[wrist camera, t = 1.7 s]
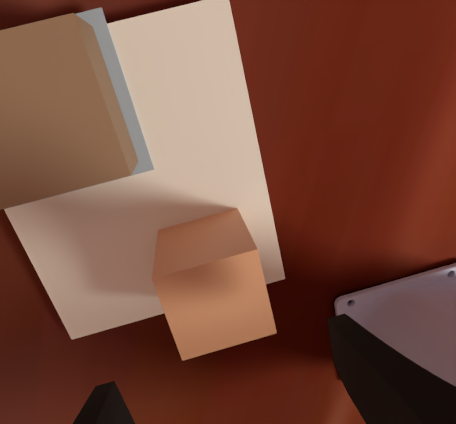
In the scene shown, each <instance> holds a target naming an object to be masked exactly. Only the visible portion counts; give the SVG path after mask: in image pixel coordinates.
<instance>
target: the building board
mask: <svg viewBox="0 0 456 424" xmlns="http://www.w3.org/2000/svg"><path fill="white" fill-rule="evenodd" d="M236 208H238V210H239V212H240V214H241V216H242V218H243V220H244V222H245V224H246V226H247V228H248V230H249V232H250V234H251V237H252V239H253V241H254V243H255V245H256V247H257V249H258V253H259V257H260V261H261V266H262V270H263V274H264V279H265V283H266V284H269V283H273V282H276V281H280V280H283V279H285V274H284V269H283V264H282V260H281V255H280V250H279V245H278V240H277V235H276V230H275V225H274V220H273V215H272V210H271V205H270V200H269V195H268V190H267V185H266V180H265V175H264V170H263V165H262V160H261V155H260V150H259V146H258V141H257V136H256V131H255V126H254V121H253V116H252V111H251V106H250V101H249V96H248V91H247V86H246V81H245V76H244V71H243V66H242V61H241V56H240V51H239V46H238V41H237V36H236V32H235V27H234V22H233V17H232V12H231V7H230V2H229V0H202V1H198V2H194V3H190V4H186V5H182V6H178V7H173V8H169V9H165V10H161V11H157V12H153V13H149V14H145V15H140V16H136V17H132V18H128V19H124V20H120V21H116V22H112V23H108V24H107V22H106V19H105V16H104V13H103V10H102V8H97V9H93V10H89V11H85V12H81V13H76V14H74V13H70V14H66V15H62V16H58V17H54V18H50V19H45V20H41V21H37V22H33V23H29V24H25V25H21V26H16V27H12V28H8V29H4V30H0V210H2V209H4V211H5V213H6V214H7V216H8V218H9V220H10V222H11V224H12V226H13V228H14V230H15V232H16V234H17V236H18V237H19V239H20V241H21V243H22V245H23V247H24V249H25V251H26V253H27V255H28V257H29V259H30V261H31V262H32V264H33V266H34V268H35V270H36V272H37V274H38V276H39V278H40V280H41V282H42V284H43V286H44V287H45V289H46V291H47V293H48V295H49V297H50V299H51V301H52V303H53V305H54V307H55V309H56V311H57V312H58V314H59V316H60V318H61V320H62V322H63V324H64V326H65V328H66V330H67V332H68V334H69V335H70V337H71V339H72V340H73V339H76V338H80V337H83V336H87V335H90V334H94V333H97V332H101V331H104V330H108V329H111V328H115V327H118V326H122V325H125V324H129V323H132V322H136V321H139V320H143V319H146V318H150V317H153V316H157V315H160V314H164V311H163V308H162V305H161V303H160V300H159V297H158V295H157V292H156V289H155V287H154V284H153V281H152V272H153V265H154V257H155V250H156V243H157V235H158V230H159V229H163V228H166V227H170V226H174V225H177V224H181V223H185V222H188V221H192V220H196V219H199V218H203V217H207V216H210V215H214V214H218V213H221V212H225V211H229V210H232V209H236Z"/></svg>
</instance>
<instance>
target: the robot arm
mask: <svg viewBox="0 0 456 424" xmlns="http://www.w3.org/2000/svg"><path fill="white" fill-rule="evenodd" d="M448 273H449V274H448ZM350 300H352V301H351V302H350V303H348V301H350ZM334 306H335V313H336V316H334V317H331V318H327V321H328V328H329V334H330V341H331V347H332V354H333V360H334V365H335V367H336V369H337V371H338V374H339V376H340V378H341V380H342V382H343V384H344V386H345V388H346V390H347V392H348V394H349V396H350V398H351V399H352V401H353V403H354V404H355V406H356V407H357V409H358V411H359V412H360V414H361V416H362V417H363V419H364V421H365V422H366V424H456V263H454V264H450V265H447V266H443V267H440V268H436V269H433V270H429V271H426V272H423V273H419V274H416V275H412V276H409V277H405V278H402V279H398V280H395V281H391V282H388V283H385V284H381V285H378V286H374V287H371V288H367V289H364V290H360V291H357V292H353V293H350V294H347V295H343V296H340V297H338V298H337V299H336V300H335V302H334ZM73 424H135V423H134V420H133V418H132V416H131V414H130V412H129V410H128V408H127V406H126V404H125V402H124V400H123V398H122V396H121V394H120V392H119V390H118V388H117V386H116V384H115V382H114V381H113V382H109V383H106V384H102V385H99V386H96V387H95V388H94V390H93V392H92V393H91V395H90V396H89V398H88V400H87V401H86V403H85V404H84V406H83V408H82V409H81V411H80V413H79V414H78V416H77V418H76V419H75V421H74V423H73Z"/></svg>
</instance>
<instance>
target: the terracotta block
mask: <svg viewBox="0 0 456 424" xmlns="http://www.w3.org/2000/svg"><path fill="white" fill-rule="evenodd" d="M152 281H153V284H154V287H155V289H156V292H157V295H158V297H159V300H160V303H161V305H162V308H163V311H164V313H165V316H166V319H167V321H168V324H169V327H170V329H171V332H172V334H173V337H174V340H175V342H176V345H177V348H178V350H179V353H180V356H181V358H182V361H184V360H187V359H190V358H194V357H197V356H201V355H204V354H207V353H211V352H214V351H218V350H221V349H225V348H228V347H231V346H235V345H238V344H242V343H245V342H249V341H252V340H255V339H259V338H262V337H266V336H269V335H272V334H276V333H277V331H276V327H275V322H274V318H273V314H272V309H271V305H270V301H269V296H268V292H267V287H266V283H265V279H264V274H263V270H262V266H261V261H260V257H259V253H258V249H257V247H256V245H255V243H254V241H253V239H252V237H251V234H250V232H249V230H248V228H247V226H246V224H245V222H244V220H243V218H242V216H241V214H240V212H239V210H238V208H236V209H232V210H229V211H225V212H221V213H218V214H214V215H210V216H207V217H203V218H199V219H196V220H192V221H188V222H185V223H181V224H177V225H174V226H170V227H166V228H163V229H159V230H158V235H157V243H156V250H155V257H154V265H153V272H152Z"/></svg>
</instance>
